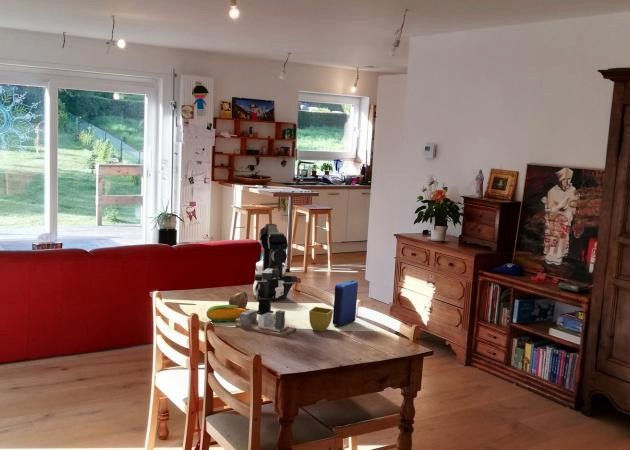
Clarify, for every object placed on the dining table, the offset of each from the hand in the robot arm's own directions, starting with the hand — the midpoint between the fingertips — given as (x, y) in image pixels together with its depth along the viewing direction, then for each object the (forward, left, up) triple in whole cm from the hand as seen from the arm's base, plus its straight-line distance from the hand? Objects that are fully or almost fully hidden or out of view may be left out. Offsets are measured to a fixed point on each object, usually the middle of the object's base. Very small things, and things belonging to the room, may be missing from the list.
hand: (275, 298), depth 298 cm
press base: (-1, -5, -15) cm, 16 cm away
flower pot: (-15, +15, -15) cm, 26 cm away
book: (-30, +20, -15) cm, 39 cm away
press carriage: (-1, -1, -14) cm, 14 cm away
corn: (-2, -25, -15) cm, 30 cm away
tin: (-18, -31, -15) cm, 39 cm away
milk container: (-49, -32, -15) cm, 61 cm away
